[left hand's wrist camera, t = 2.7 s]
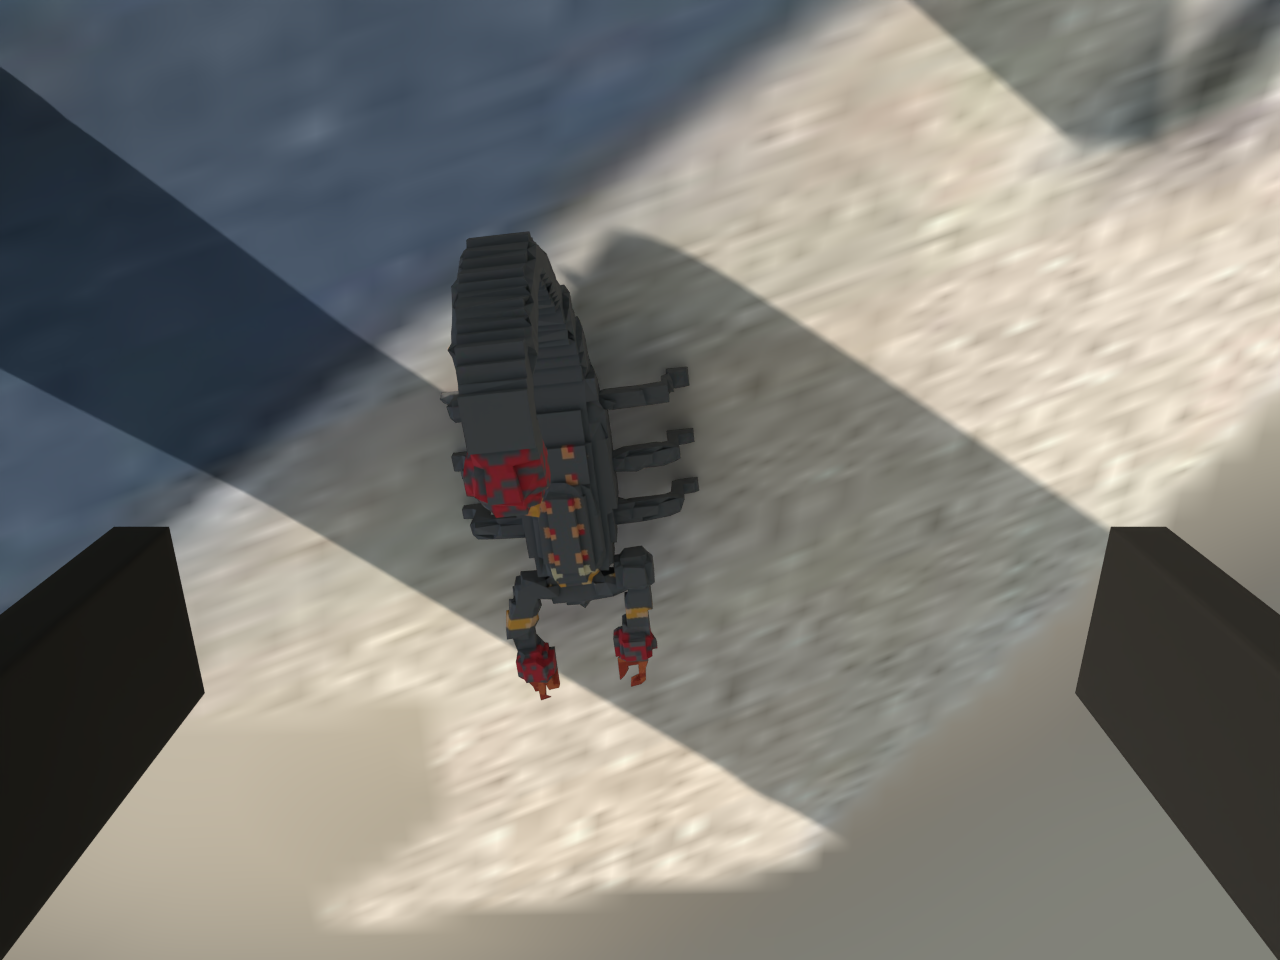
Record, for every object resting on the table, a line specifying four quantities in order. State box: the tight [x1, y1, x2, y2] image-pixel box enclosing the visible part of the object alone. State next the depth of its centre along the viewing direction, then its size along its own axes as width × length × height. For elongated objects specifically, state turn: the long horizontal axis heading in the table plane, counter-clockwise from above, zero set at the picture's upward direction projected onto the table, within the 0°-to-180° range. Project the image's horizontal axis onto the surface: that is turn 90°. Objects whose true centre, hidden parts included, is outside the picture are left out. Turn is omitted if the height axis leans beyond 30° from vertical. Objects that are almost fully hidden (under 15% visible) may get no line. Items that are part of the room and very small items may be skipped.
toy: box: [440, 232, 699, 700], centre depth 41 cm, size 13×27×18 cm, turn 6°
